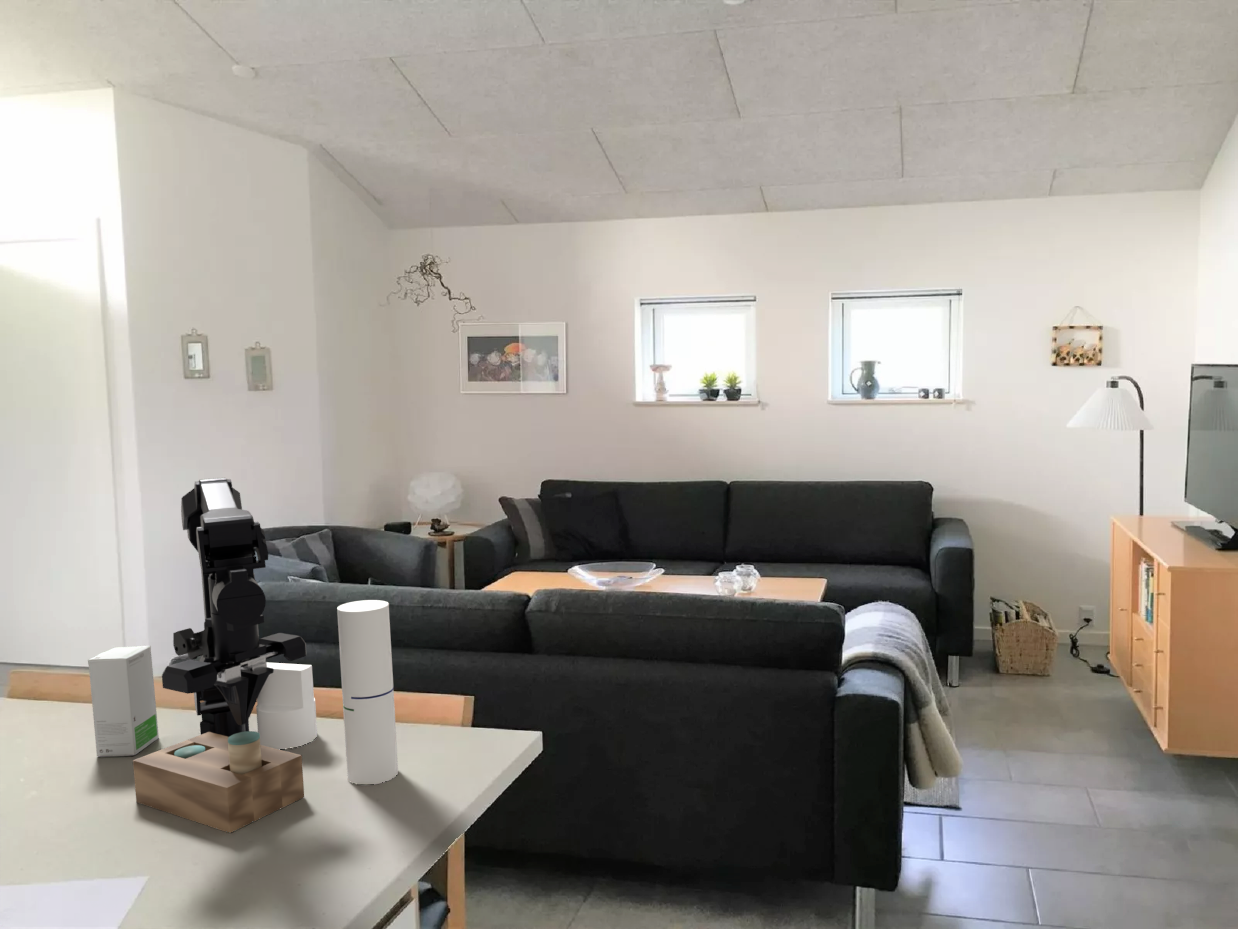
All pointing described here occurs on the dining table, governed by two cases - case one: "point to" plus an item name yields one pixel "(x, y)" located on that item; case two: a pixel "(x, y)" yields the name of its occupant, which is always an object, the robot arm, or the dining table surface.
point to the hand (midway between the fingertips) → (242, 724)
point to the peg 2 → (244, 752)
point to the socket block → (217, 783)
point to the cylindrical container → (367, 691)
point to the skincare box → (123, 700)
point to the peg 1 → (189, 751)
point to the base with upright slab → (287, 707)
